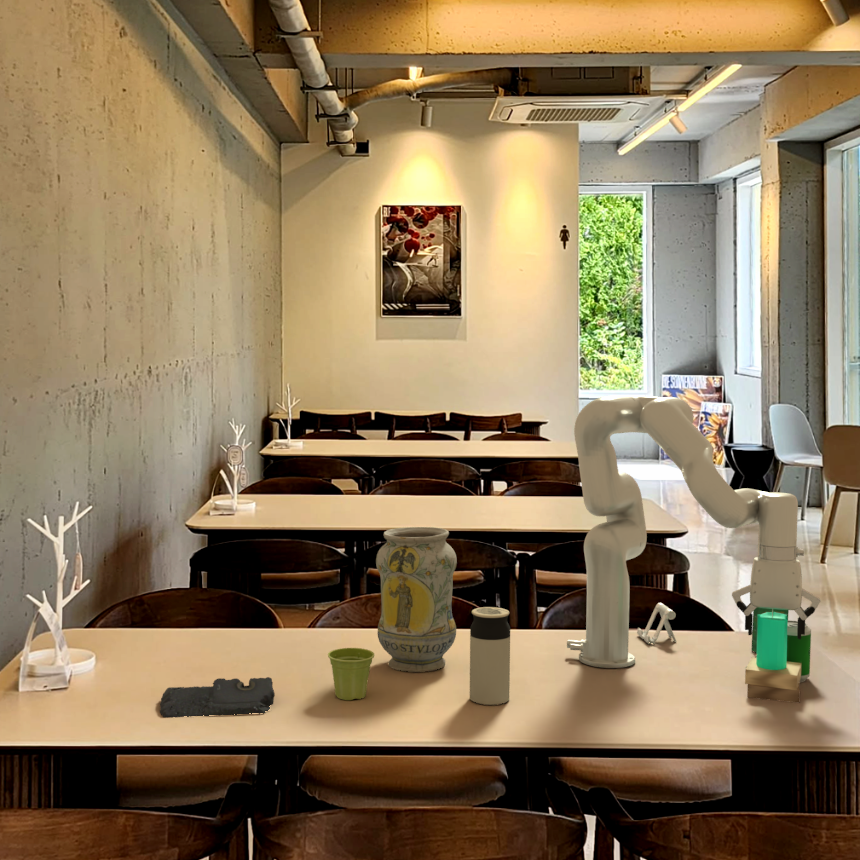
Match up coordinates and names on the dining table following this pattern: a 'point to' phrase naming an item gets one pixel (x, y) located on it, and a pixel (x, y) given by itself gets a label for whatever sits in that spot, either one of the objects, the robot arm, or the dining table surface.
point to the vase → (416, 597)
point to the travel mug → (490, 656)
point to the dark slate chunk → (219, 698)
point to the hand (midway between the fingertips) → (774, 635)
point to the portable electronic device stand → (665, 615)
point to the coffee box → (754, 628)
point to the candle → (772, 641)
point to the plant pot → (350, 672)
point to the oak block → (773, 676)
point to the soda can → (799, 648)
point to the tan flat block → (773, 693)
